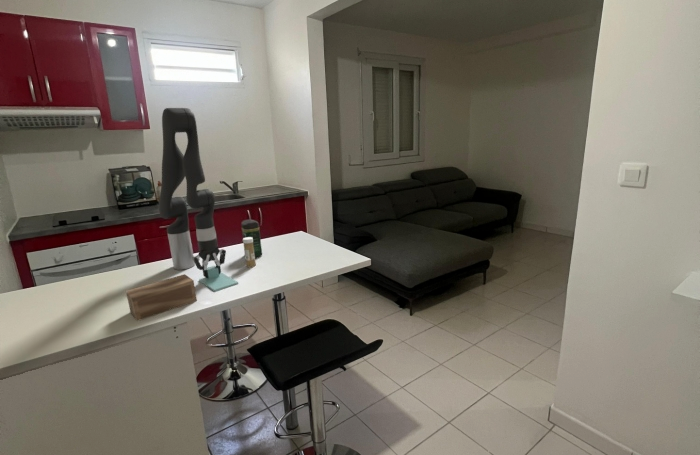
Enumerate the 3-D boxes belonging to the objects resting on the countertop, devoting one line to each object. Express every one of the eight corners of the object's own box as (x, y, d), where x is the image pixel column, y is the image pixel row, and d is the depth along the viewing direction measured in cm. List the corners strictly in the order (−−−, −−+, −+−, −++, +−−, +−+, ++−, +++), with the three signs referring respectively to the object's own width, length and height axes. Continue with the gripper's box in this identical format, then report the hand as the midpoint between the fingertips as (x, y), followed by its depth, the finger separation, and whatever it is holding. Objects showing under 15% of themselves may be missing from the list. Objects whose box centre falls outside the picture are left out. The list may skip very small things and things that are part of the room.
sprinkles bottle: (257, 265, 166) (254, 238, 162) (247, 268, 164) (244, 240, 160) (254, 263, 170) (250, 236, 166) (244, 265, 167) (241, 238, 164)
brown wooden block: (130, 312, 126) (125, 290, 124) (188, 293, 139) (184, 274, 137) (137, 320, 120) (132, 298, 118) (196, 300, 133) (193, 280, 131)
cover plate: (199, 281, 151) (197, 270, 150) (221, 274, 158) (220, 264, 157) (214, 291, 140) (213, 280, 139) (238, 283, 147) (236, 273, 145)
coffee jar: (264, 256, 178) (260, 220, 174) (248, 259, 174) (244, 223, 170) (258, 251, 186) (254, 217, 182) (243, 254, 182) (238, 219, 178)
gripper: (219, 232, 155) (224, 268, 160) (186, 239, 146) (192, 278, 150) (227, 235, 150) (232, 273, 154) (192, 243, 141) (199, 283, 145)
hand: (212, 275), depth 152 cm, fingers closed on cover plate, 4 cm apart
